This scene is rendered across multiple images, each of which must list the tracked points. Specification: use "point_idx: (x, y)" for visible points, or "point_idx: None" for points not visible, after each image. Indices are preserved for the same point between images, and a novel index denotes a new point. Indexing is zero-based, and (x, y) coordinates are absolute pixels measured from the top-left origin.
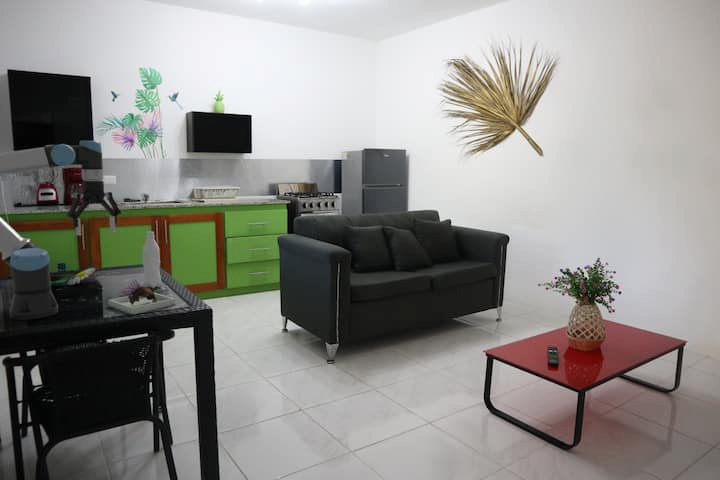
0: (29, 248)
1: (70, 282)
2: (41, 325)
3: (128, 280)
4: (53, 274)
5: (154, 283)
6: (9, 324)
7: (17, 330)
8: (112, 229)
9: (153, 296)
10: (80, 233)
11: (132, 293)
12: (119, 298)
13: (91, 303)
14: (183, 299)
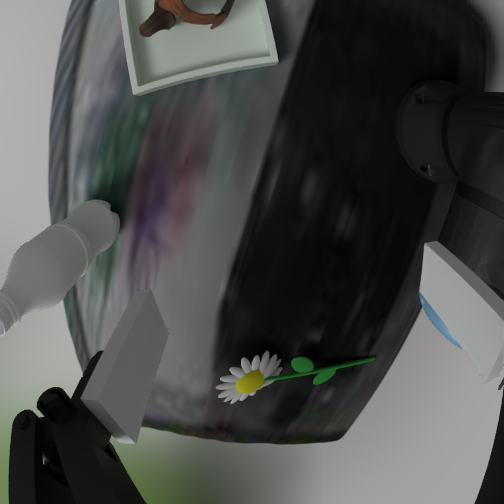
0: None
1: (277, 369)
2: (441, 32)
3: None
4: (274, 436)
5: (94, 200)
6: None
7: (474, 41)
8: (149, 315)
9: None
10: (438, 248)
11: (212, 13)
12: (242, 60)
13: (306, 130)
14: (84, 33)
